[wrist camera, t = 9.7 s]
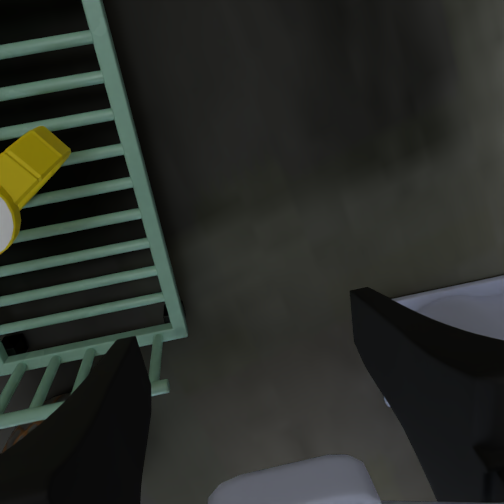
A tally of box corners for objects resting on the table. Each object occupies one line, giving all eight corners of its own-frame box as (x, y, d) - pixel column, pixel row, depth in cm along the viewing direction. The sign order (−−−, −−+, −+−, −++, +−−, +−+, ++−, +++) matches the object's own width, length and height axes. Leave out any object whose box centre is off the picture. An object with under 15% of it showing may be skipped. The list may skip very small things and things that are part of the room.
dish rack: (99, -31, 19) (59, -71, 13) (188, 316, 26) (188, 392, 20) (-150, 10, 18) (-309, -13, 12) (9, 353, 25) (-45, 442, 19)
